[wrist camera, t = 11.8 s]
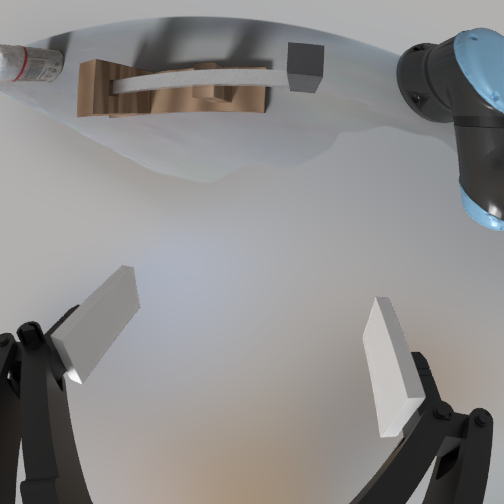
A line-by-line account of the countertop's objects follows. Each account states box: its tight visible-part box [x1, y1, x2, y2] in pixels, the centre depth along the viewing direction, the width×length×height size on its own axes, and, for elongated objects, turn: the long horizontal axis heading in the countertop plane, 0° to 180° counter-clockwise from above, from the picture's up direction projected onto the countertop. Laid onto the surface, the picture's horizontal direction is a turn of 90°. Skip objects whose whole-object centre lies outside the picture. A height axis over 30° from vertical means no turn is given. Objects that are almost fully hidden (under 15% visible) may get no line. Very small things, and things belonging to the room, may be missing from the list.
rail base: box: [77, 59, 267, 118], centre depth 37 cm, size 30×8×19 cm, turn 87°
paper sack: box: [0, 45, 64, 82], centre depth 36 cm, size 8×8×20 cm
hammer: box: [113, 42, 324, 94], centre depth 27 cm, size 28×3×13 cm, turn 87°
